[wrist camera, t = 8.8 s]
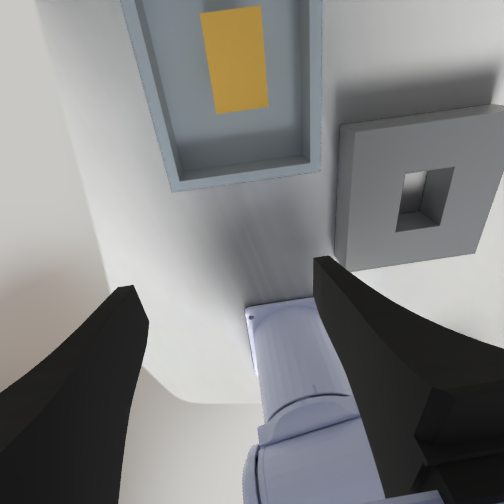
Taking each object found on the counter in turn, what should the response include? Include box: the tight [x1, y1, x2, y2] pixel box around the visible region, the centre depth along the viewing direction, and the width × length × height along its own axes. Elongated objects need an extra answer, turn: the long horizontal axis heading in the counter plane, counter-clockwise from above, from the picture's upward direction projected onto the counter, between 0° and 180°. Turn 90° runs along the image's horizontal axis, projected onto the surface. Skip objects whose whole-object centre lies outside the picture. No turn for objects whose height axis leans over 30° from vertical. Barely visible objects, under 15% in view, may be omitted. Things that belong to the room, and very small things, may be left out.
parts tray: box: [120, 0, 322, 193], centre depth 16 cm, size 12×9×2 cm
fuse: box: [200, 5, 269, 114], centre depth 13 cm, size 3×2×7 cm, turn 7°
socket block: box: [334, 104, 504, 272], centre depth 21 cm, size 10×10×2 cm
